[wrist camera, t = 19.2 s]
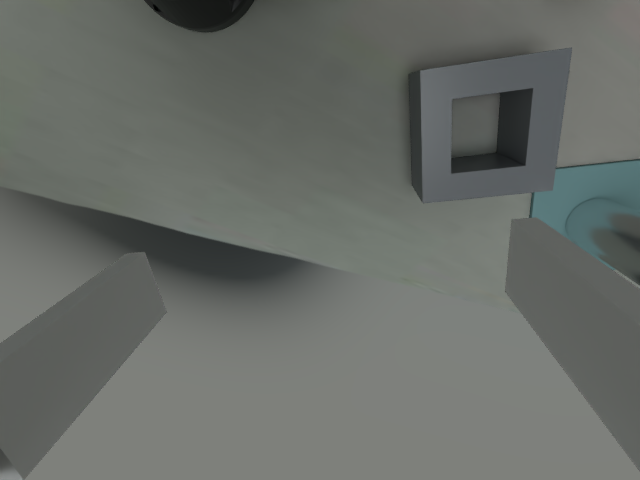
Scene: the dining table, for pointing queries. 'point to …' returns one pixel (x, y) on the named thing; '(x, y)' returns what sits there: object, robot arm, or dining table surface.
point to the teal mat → (587, 192)
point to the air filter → (608, 234)
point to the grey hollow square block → (513, 129)
